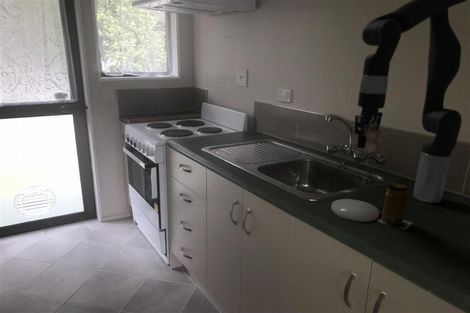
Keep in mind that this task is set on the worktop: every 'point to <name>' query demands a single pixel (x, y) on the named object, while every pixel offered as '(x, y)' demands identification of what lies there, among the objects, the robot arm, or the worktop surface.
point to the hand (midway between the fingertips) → (364, 146)
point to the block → (367, 140)
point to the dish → (355, 210)
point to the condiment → (395, 206)
